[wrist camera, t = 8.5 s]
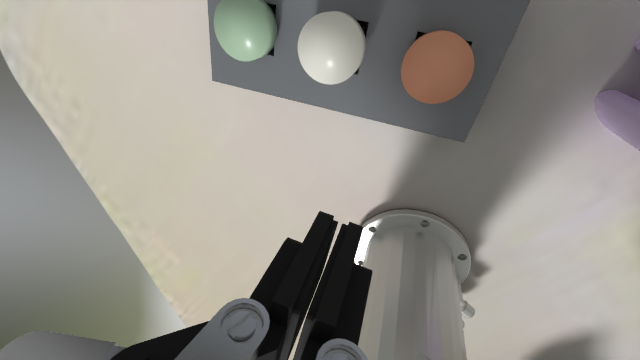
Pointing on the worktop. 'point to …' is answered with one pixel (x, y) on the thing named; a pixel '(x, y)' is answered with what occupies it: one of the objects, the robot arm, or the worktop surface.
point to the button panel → (380, 59)
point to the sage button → (245, 28)
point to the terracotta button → (437, 67)
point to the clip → (620, 113)
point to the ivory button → (331, 47)
